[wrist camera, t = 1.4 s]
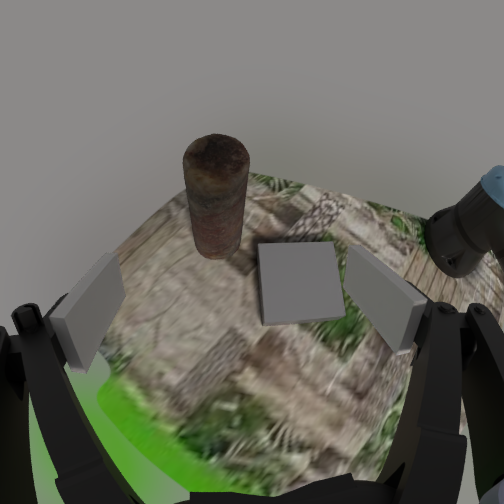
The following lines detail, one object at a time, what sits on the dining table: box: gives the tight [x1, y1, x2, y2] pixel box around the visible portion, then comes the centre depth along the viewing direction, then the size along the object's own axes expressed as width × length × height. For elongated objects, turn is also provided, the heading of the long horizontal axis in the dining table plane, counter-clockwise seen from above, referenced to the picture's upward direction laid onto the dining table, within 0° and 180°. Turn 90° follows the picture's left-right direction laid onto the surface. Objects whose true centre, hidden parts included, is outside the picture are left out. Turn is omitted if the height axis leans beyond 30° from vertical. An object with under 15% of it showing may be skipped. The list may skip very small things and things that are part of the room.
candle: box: [183, 134, 250, 260], centre depth 37 cm, size 8×7×20 cm
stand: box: [257, 242, 346, 326], centre depth 42 cm, size 12×12×3 cm
